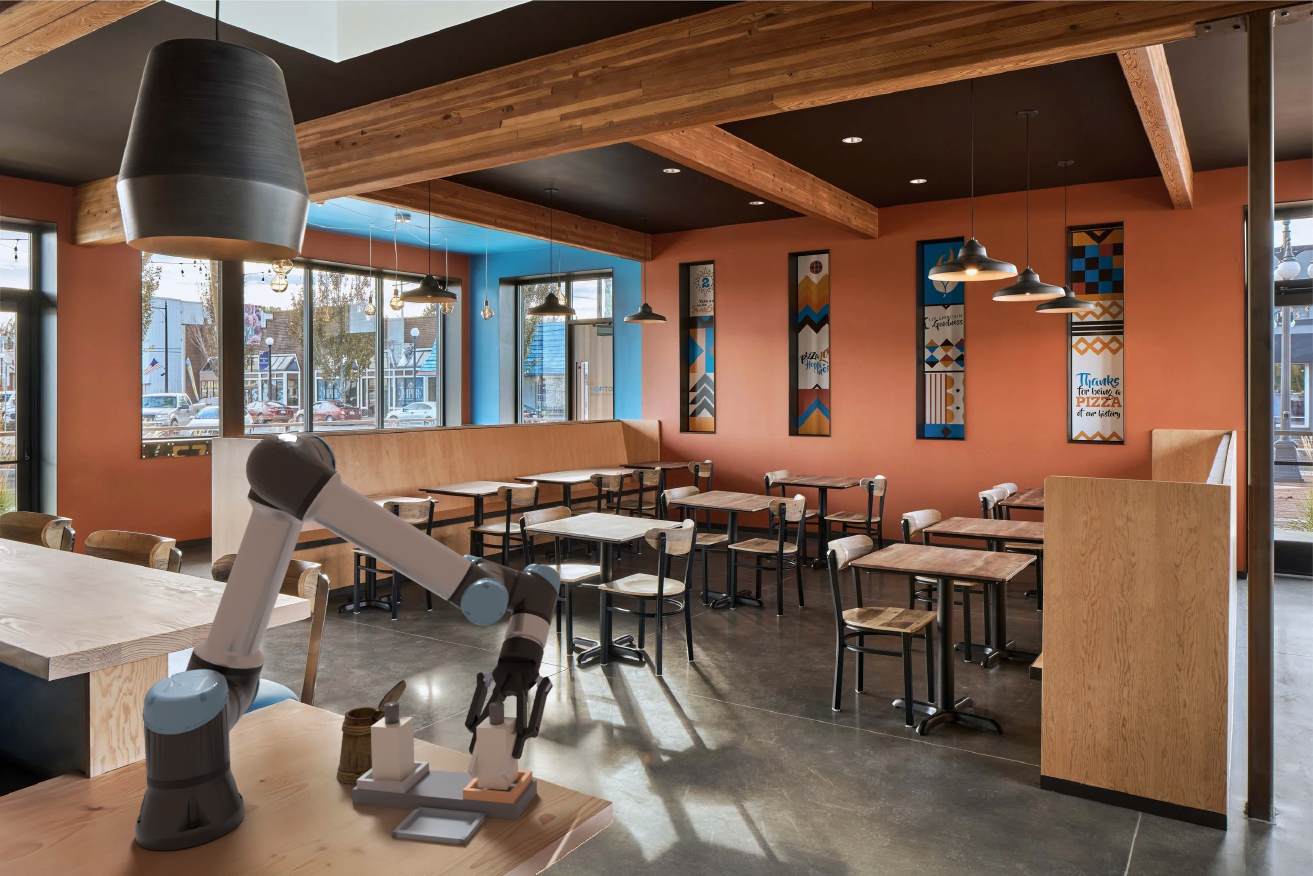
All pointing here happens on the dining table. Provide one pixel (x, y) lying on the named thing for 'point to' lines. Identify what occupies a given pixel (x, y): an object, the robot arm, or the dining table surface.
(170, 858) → the dining table surface
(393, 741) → the twin plug
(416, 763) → the grey base
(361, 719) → the wooden mug
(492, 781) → the bottle
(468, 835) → the tray
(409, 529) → the robot arm
